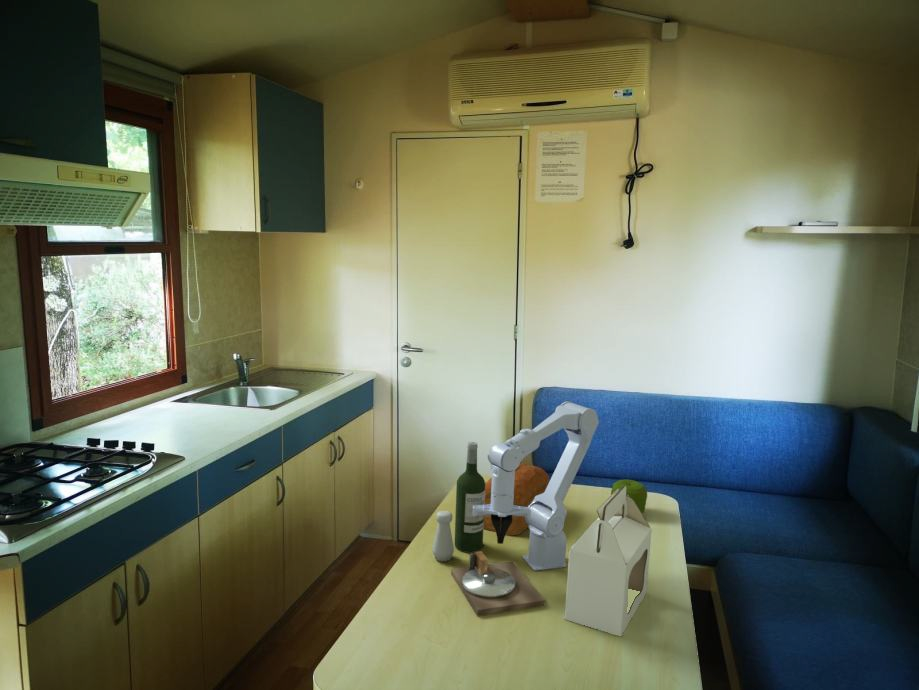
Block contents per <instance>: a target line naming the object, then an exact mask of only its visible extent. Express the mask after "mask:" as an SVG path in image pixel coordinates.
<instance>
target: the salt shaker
mask: <svg viewBox="0 0 919 690" xmlns="http://www.w3.org/2000/svg"><path fill="white" fill-rule="evenodd" d="M435 520H436V521H437V524H436V525H437V526H436V531H435V535H434V538H433V539H434V540H433V544H432V554H433V556H434V558H435V560H437V561H438V562H443V561H445V562H448V561H451V558H452V556H453V554H454V552H455V546H454V541H453V534H452V530H451V529H452V528H451V524H450V523H452V521H453V514H452V512H450V511H449V510H440V511H438V512H437V513H436V517H435ZM447 560H448V561H447Z"/></svg>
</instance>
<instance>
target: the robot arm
mask: <svg viewBox="0 0 919 690" xmlns="http://www.w3.org/2000/svg"><path fill="white" fill-rule="evenodd" d="M599 424H600V421H599V417H598V413H597V412H596V410H595V409H593V408H590V407H589V408H588V407H587V406H586V407H585V406H583V405H579V404H577V403H573V402H571V401H569V400H568V401H564V402H562V403H561V404H560V405H558V406H556V407H555V411H554V412H553V413H552V414H550V415H549V416H548V417H547V418H545V419H544V420H543V421H542V422H540V423H539V424H538V425H537V426H535V427H534V428H532V429H530V428H522V429H521V430H520V431H519V432H518V433H517V434H516V435H514V436H513V437H511V438H510V439H509V438H508V439H507V440H505V442H504V443H503V442H499V443H498V442H497V443H496V444H495V445H493V446H492V447H491V448H490V450H489V453H488V454H487V460H488V462H489V463H490V470H491V477H492V484H491V504H487V505H477V506H473V516H477V515H491V521H492V523H493V526H494V528H495V531H496V532H495V531H494V532H495V535H496V542H497V544H499V545H502V544H503V545H504V541H505V537H506V532H507V530H508V528H509V526H510V525H511V523H512V516H525V520H526V522H527V523H528V524H529V526H528V529H529V543H528V554H526V555H525V554H524V555H522V559H524V561H525V562H526V563H527V564H528V566H529V567H530V568H531V569H532V570H533V571H535V572H536V571H544V570H551V569H552V570H553V569H558V568H566V567H567V563H566V559H567V558H566V556H567V536H566V534H565V531H564V530H563V529H564V526H565V520H566V517H567V514H568V511H567V509H566V506H565V504H564V501H565V498H566V497H567V494H568V492H569V489H570V488H571V486H572V484H573V481H574V480H575V477H576V475H577V472H578V471H579V469H580V466H581V465H582V462H583V460H584V458H585V456H586V454H587V452H588V449H589V447H590V445H591V442H592V439H593V436H594V435H595V432H596V430H597V428H598V426H599ZM562 429H563V430H564V431H565V433H566V434H567V437H568V442H567V444H566V446H565V448H564V451H563V452H562V454H561V456H560V459H559V461H558V463H557V466H556V468H555V469H554V472H553V473H552V476H551V477H550V479H549V481H550V482H549V484H548V486H547V488H546V490H545V492H544V493H542V494H540V495H537V496H535V498H534V500H533V502H532V503H531V504H530V505H529V506H528V507H522V506H516V505H513V500H514V480H515V469H517V468H518V466H519V464H520V463H521V462H522V461H523V460H524V458H525V457H527V456H528V455H529V454H531V453H533V452H535V451H536V450H537V449H538V448H539V447H540V444H541V441H543V440H544V439H547V438H548V437H550V436H551V435H553V434H555V433H557V432H558V431H560V430H562ZM546 506H548V507H546ZM500 530H501V532H500Z"/></svg>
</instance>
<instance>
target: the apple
mask: <svg viewBox="0 0 919 690" xmlns="http://www.w3.org/2000/svg"><path fill="white" fill-rule="evenodd" d="M623 486H626V494H628V496H629V497H631V498H632V499H633V500H634V501H635V503H636V505H637V506H638V508H639V510H640V511H641V513H642V514H643V513H645V509H646V506H647V505H646V504H647V499H648V492H647V491H648V490H647V488H646V486H644V484H642V482H639V481H636V480H632V479H619V480H617V481H615V482H613V484H612V486H611V487H612V488H611V491H610V496H611V495H612V494H613V493H614V492H615V491H616V490H617V488H618V489H619V490H620V489H621V488H622V487H623ZM626 517H627V515H626Z"/></svg>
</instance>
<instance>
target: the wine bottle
mask: <svg viewBox="0 0 919 690" xmlns="http://www.w3.org/2000/svg"><path fill="white" fill-rule="evenodd" d="M478 447H479V446H478V443H477V442H475V441H469V442H468V443H467V455H466V466H465V467H466V468H465V471H464V472H463V473H462V474H460V475H459V476H458V478H457V480H456V490H455V491H456V494H455V519H454V548H456V549H457V550H458V551H460V552H463V553H475V552H479V551H480V550H481V549H482V548H483V546H484V545H483V544H484V528H483V527H484V515H477V516H473V506H477V505H484V504H485V483H486V481H485V479H484V477H483V476H482V475H481V473H479V472H478Z"/></svg>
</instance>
